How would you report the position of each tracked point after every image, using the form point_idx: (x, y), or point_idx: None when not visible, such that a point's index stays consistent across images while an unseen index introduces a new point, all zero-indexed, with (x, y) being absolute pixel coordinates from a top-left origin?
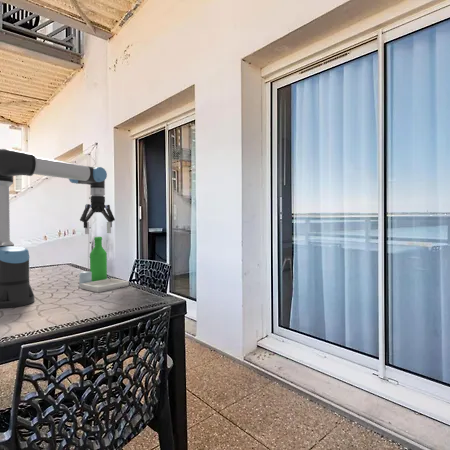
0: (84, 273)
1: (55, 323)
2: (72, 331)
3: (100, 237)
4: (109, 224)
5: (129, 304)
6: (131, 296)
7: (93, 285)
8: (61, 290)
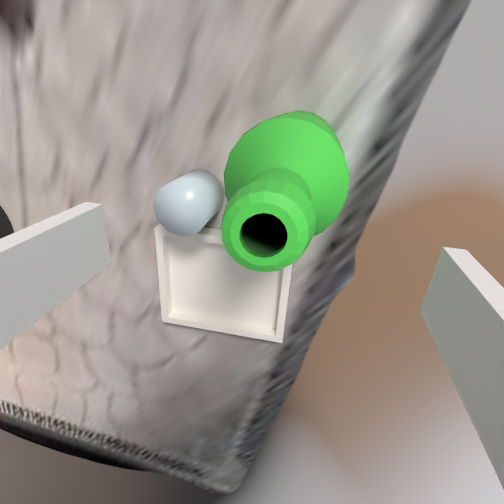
0: (165, 227)
1: (22, 400)
2: (32, 436)
3: (264, 271)
4: (478, 428)
5: (153, 432)
6: (196, 405)
7: (201, 246)
8: (106, 189)
